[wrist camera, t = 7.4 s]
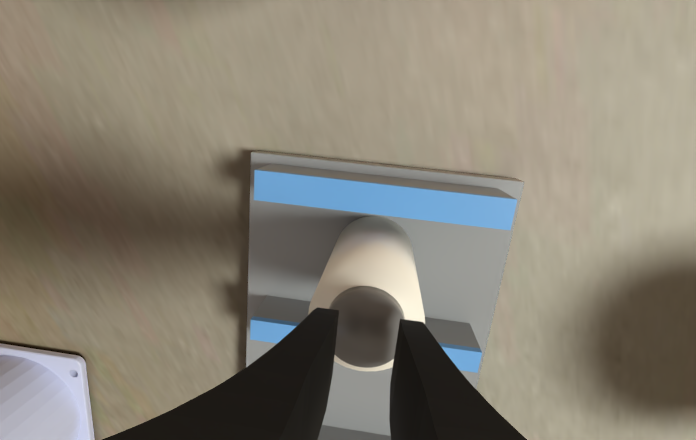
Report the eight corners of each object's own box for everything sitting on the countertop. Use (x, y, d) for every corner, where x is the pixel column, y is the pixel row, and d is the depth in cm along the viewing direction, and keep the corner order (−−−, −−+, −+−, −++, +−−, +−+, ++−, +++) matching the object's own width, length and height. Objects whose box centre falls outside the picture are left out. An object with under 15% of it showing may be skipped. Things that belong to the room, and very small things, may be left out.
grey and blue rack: (453, 454, 21) (466, 514, 17) (250, 421, 21) (227, 472, 18) (516, 178, 16) (547, 192, 13) (258, 150, 17) (229, 156, 14)
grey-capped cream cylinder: (407, 292, 17) (417, 392, 11) (332, 283, 17) (300, 375, 11) (417, 220, 16) (436, 284, 10) (338, 211, 16) (307, 267, 10)
